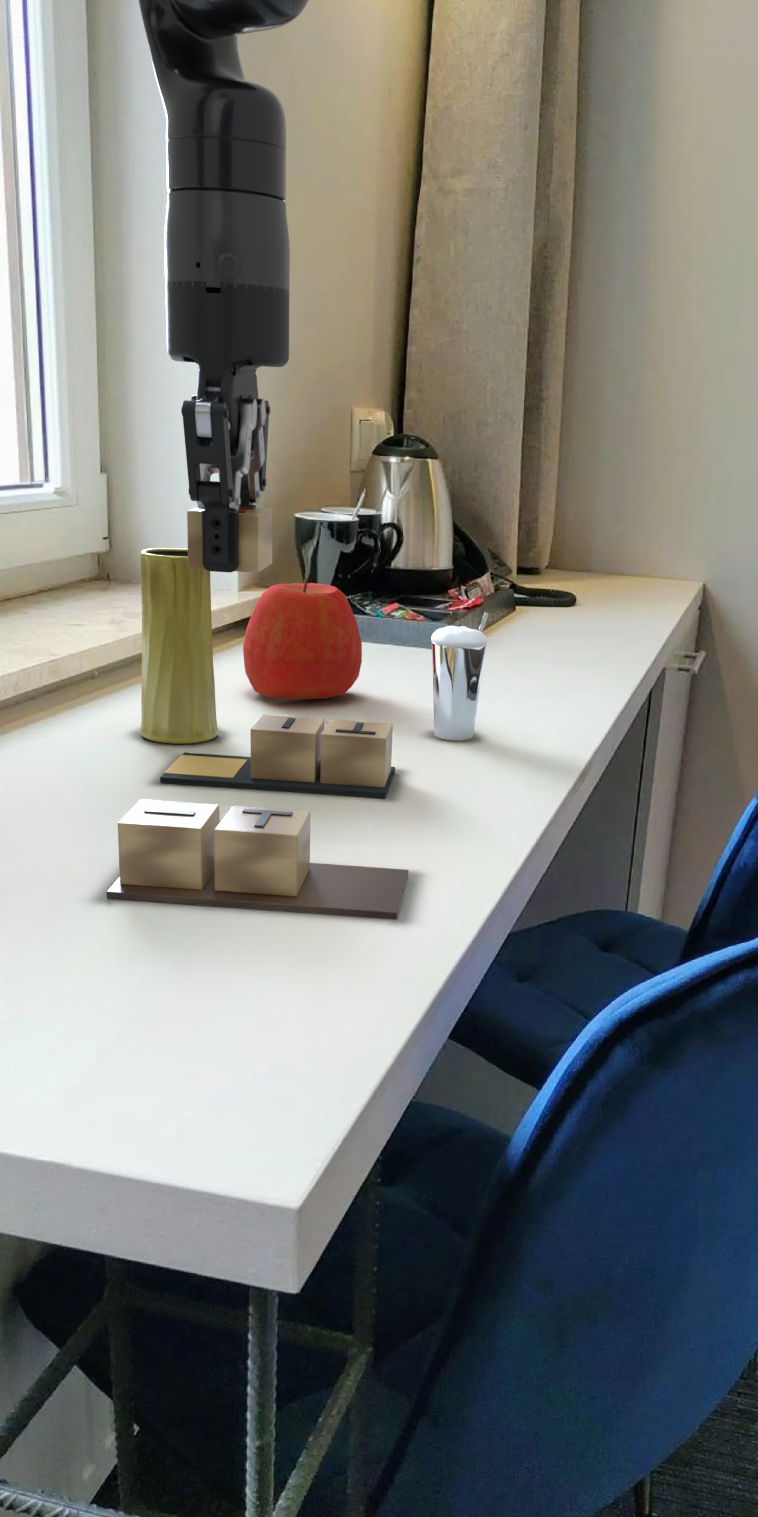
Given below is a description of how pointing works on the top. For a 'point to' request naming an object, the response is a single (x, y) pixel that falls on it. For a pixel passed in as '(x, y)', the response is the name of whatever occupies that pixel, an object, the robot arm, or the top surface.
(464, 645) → the milkshake
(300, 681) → the apple
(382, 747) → the far word
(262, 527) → the tile
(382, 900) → the near word
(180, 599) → the vase
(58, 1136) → the top surface
